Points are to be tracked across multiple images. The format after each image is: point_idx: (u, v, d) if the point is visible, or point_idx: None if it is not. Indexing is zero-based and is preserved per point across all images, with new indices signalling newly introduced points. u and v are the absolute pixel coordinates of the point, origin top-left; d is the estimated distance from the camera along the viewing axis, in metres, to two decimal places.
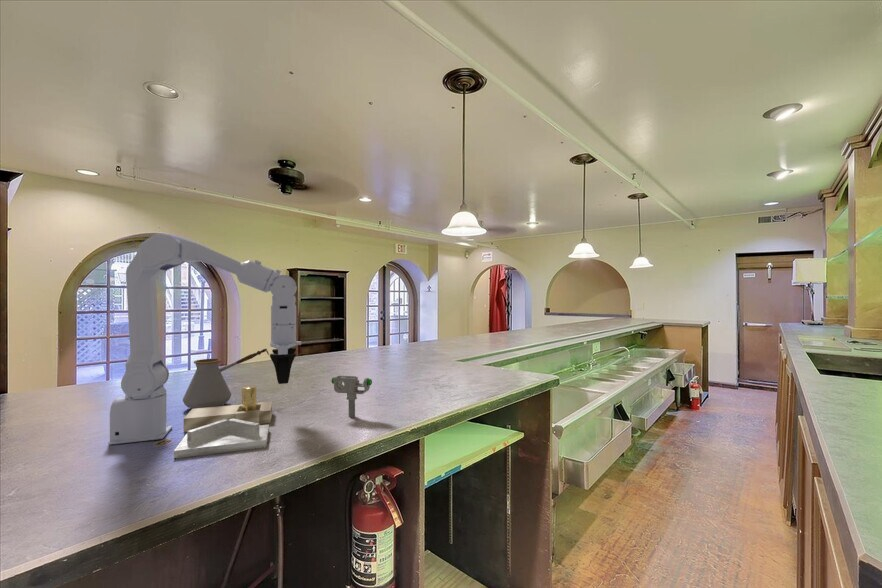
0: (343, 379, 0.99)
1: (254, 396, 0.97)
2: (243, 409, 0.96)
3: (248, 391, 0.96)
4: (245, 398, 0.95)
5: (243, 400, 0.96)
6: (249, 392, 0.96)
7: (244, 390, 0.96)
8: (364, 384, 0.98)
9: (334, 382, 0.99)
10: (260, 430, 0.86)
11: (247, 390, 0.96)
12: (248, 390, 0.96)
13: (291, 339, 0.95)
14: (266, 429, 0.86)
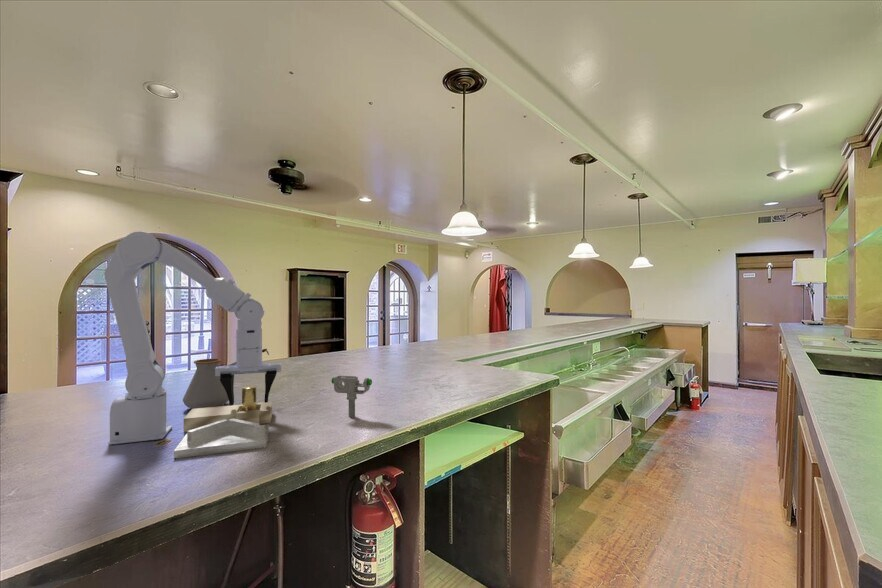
0: (343, 379, 0.99)
1: (254, 396, 0.97)
2: (243, 409, 0.96)
3: (248, 391, 0.96)
4: (246, 398, 0.95)
5: (243, 400, 0.96)
6: (249, 392, 0.96)
7: (244, 390, 0.96)
8: (364, 384, 0.98)
9: (334, 382, 0.99)
10: (260, 430, 0.86)
11: (247, 390, 0.96)
12: (248, 390, 0.96)
13: (238, 364, 0.95)
14: (266, 429, 0.86)
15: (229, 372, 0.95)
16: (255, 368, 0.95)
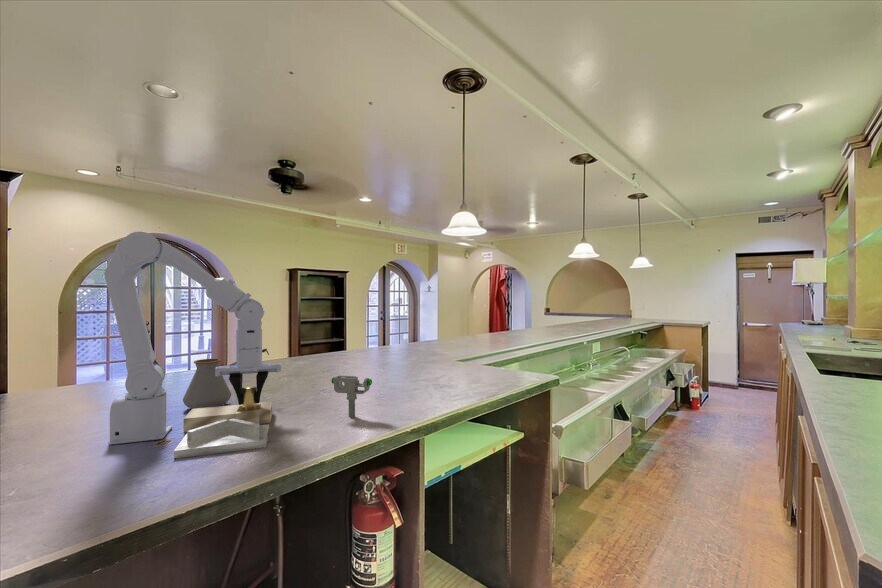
0: (343, 379, 0.99)
1: (254, 396, 0.97)
2: (243, 409, 0.96)
3: (248, 391, 0.96)
4: (246, 398, 0.95)
5: (243, 400, 0.96)
6: (249, 392, 0.96)
7: (244, 390, 0.96)
8: (364, 384, 0.98)
9: (334, 382, 0.99)
10: (260, 430, 0.86)
11: (247, 390, 0.96)
12: (248, 390, 0.96)
13: (238, 364, 0.95)
14: (266, 429, 0.86)
15: (229, 372, 0.95)
16: (255, 368, 0.95)
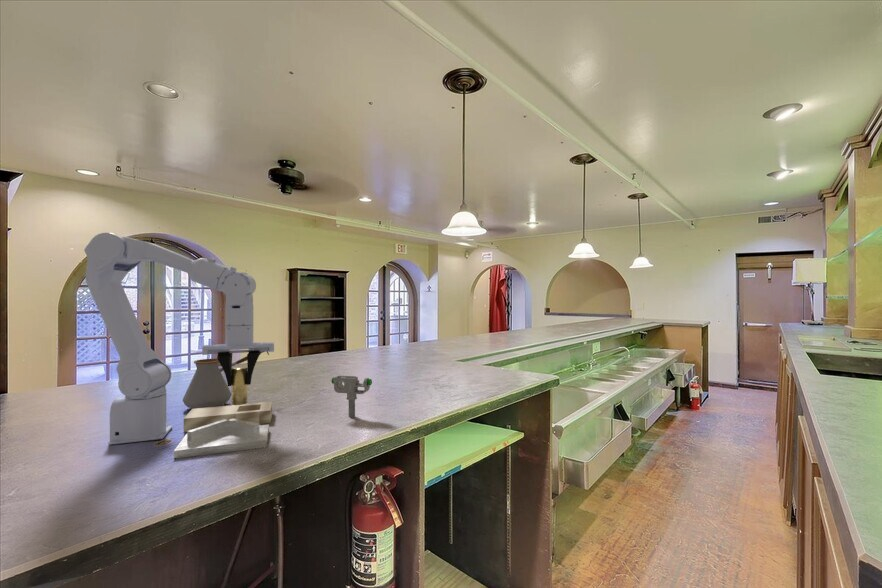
0: (343, 379, 0.99)
1: (245, 377, 0.90)
2: (233, 391, 0.89)
3: (238, 372, 0.89)
4: (235, 379, 0.89)
5: (233, 381, 0.89)
6: (239, 373, 0.89)
7: (234, 371, 0.89)
8: (364, 384, 0.98)
9: (334, 382, 0.99)
10: (260, 430, 0.86)
11: (237, 371, 0.89)
12: (238, 371, 0.89)
13: (227, 342, 0.88)
14: (266, 429, 0.86)
15: (217, 351, 0.88)
16: (246, 346, 0.88)
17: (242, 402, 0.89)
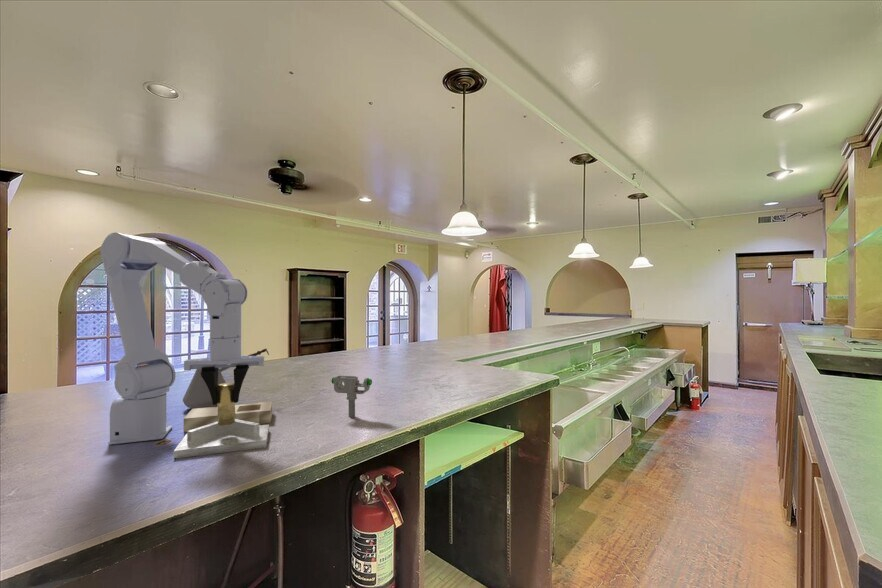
0: (343, 379, 0.99)
1: (231, 395, 0.82)
2: (218, 410, 0.81)
3: (224, 390, 0.81)
4: (221, 397, 0.81)
5: (218, 399, 0.81)
6: (225, 390, 0.81)
7: (219, 388, 0.81)
8: (364, 384, 0.98)
9: (334, 382, 0.99)
10: (260, 430, 0.86)
11: (222, 388, 0.81)
12: (224, 388, 0.81)
13: (212, 356, 0.79)
14: (266, 429, 0.86)
15: (201, 366, 0.80)
16: (232, 361, 0.80)
17: (228, 422, 0.81)
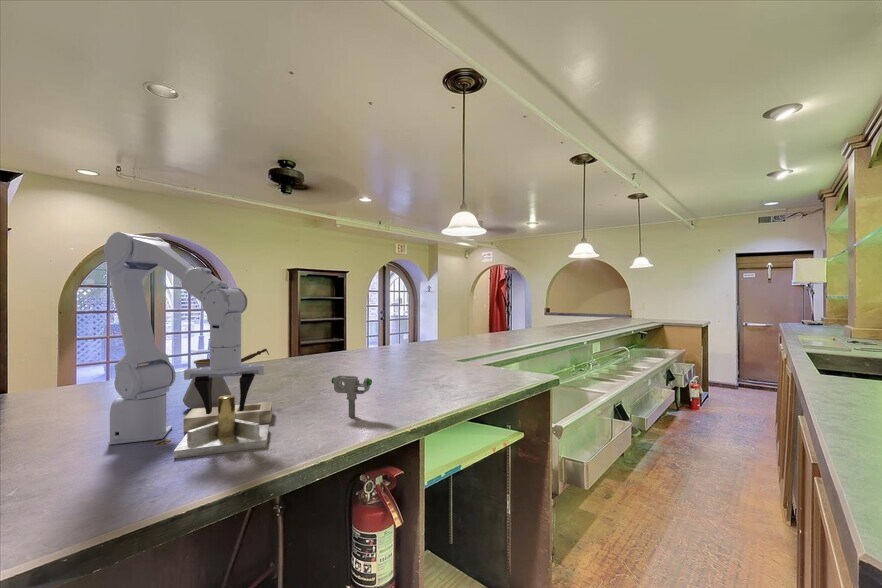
0: (343, 379, 0.99)
1: (232, 407, 0.82)
2: (218, 422, 0.81)
3: (224, 402, 0.81)
4: (221, 410, 0.81)
5: (219, 412, 0.81)
6: (226, 402, 0.81)
7: (220, 400, 0.81)
8: (364, 384, 0.98)
9: (334, 382, 0.99)
10: (260, 430, 0.86)
11: (223, 400, 0.81)
12: (224, 400, 0.81)
13: (212, 365, 0.79)
14: (266, 429, 0.86)
15: (201, 375, 0.80)
16: (232, 370, 0.80)
17: (228, 435, 0.81)
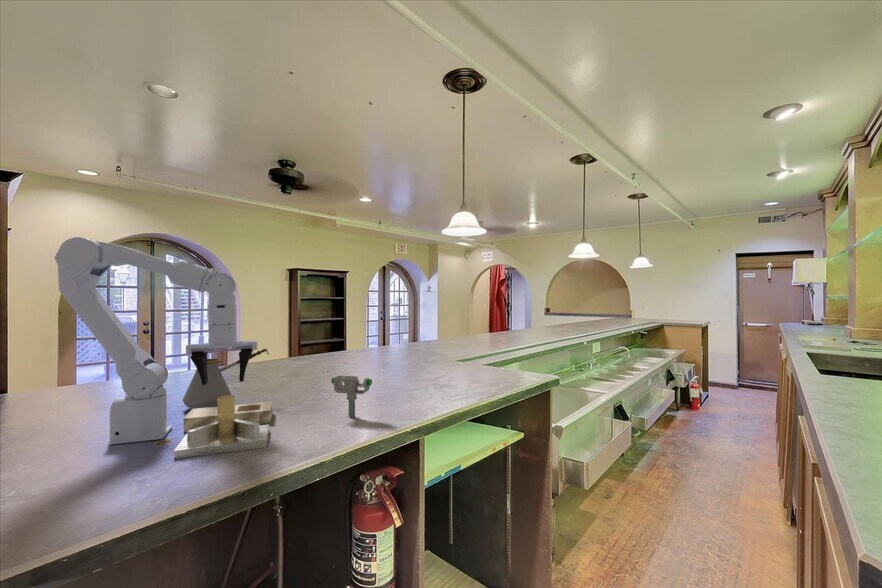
0: (343, 379, 0.99)
1: (231, 407, 0.82)
2: (218, 423, 0.81)
3: (224, 402, 0.81)
4: (221, 410, 0.81)
5: (218, 412, 0.81)
6: (225, 402, 0.81)
7: (219, 400, 0.81)
8: (364, 384, 0.98)
9: (334, 382, 0.99)
10: (260, 430, 0.86)
11: (222, 400, 0.81)
12: (224, 400, 0.81)
13: (210, 341, 0.90)
14: (266, 429, 0.86)
15: (201, 350, 0.90)
16: (228, 345, 0.90)
17: (228, 435, 0.81)
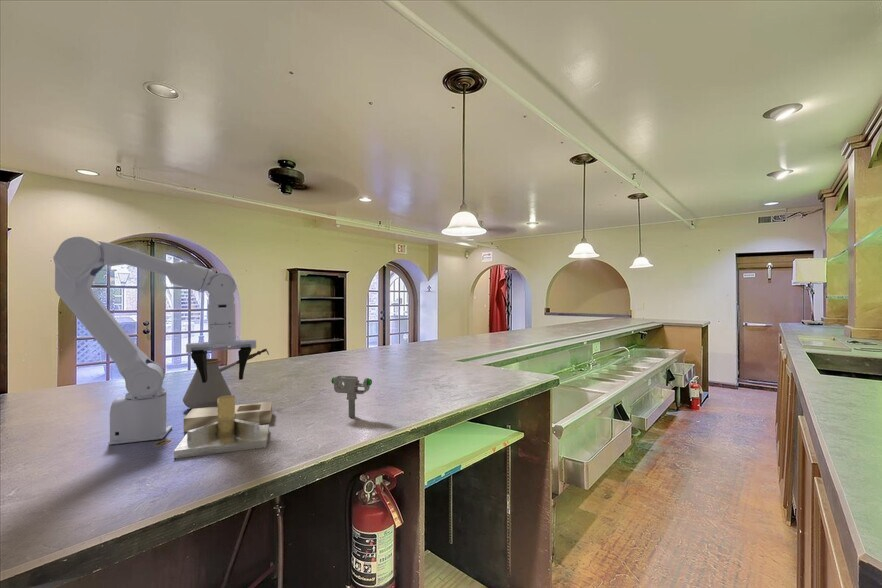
0: (343, 379, 0.99)
1: (231, 407, 0.82)
2: (218, 422, 0.81)
3: (224, 402, 0.81)
4: (221, 410, 0.81)
5: (218, 412, 0.81)
6: (225, 402, 0.81)
7: (219, 400, 0.81)
8: (364, 384, 0.98)
9: (334, 382, 0.99)
10: (260, 430, 0.86)
11: (223, 400, 0.81)
12: (224, 400, 0.81)
13: (210, 340, 0.92)
14: (266, 429, 0.86)
15: (201, 348, 0.92)
16: (228, 344, 0.92)
17: (228, 435, 0.81)
